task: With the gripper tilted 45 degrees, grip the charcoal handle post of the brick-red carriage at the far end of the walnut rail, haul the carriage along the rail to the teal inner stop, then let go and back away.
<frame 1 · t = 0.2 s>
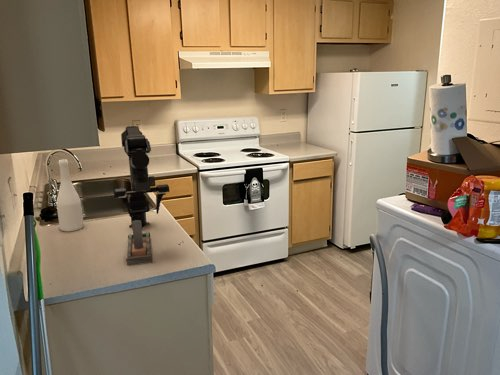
hand: (144, 215, 144), 15 cm above the countertop, tool tilted 15°, fingers open, 9 cm apart
wine bottle: (72, 228, 176), on the countertop
carriage: (137, 237, 146), point 7 cm above the countertop, slide at 9.0 cm
guide rail: (139, 250, 152), on the countertop
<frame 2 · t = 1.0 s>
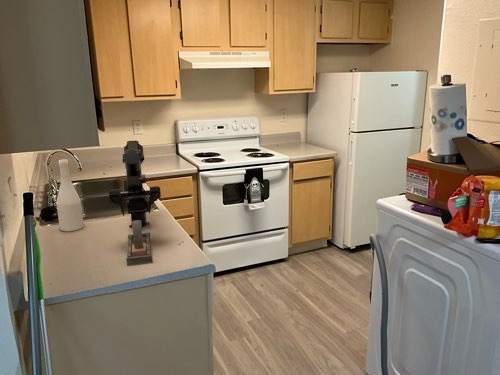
hand: (136, 214, 151), 13 cm above the countertop, tool tilted 45°, fingers open, 9 cm apart
nothing on the countertop moved.
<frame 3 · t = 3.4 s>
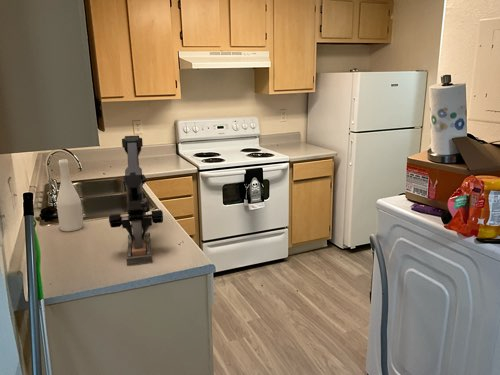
hand: (138, 240, 145), 7 cm above the countertop, tool tilted 45°, fingers closed on carriage, 3 cm apart
carriage: (137, 237, 146), point 7 cm above the countertop, slide at 9.0 cm, touching gripper
everything else where it was.
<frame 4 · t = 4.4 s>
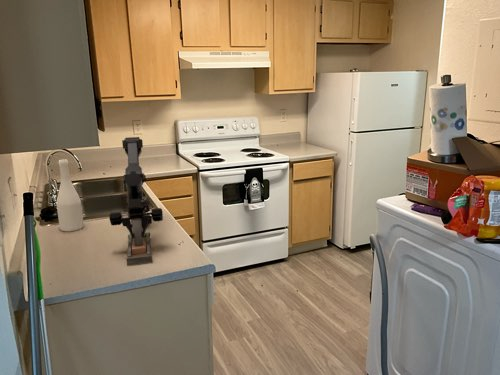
hand: (138, 237, 147), 7 cm above the countertop, tool tilted 45°, fingers closed on carriage, 3 cm apart
carriage: (137, 234, 148), point 7 cm above the countertop, slide at 6.7 cm, touching gripper
everything else where it was.
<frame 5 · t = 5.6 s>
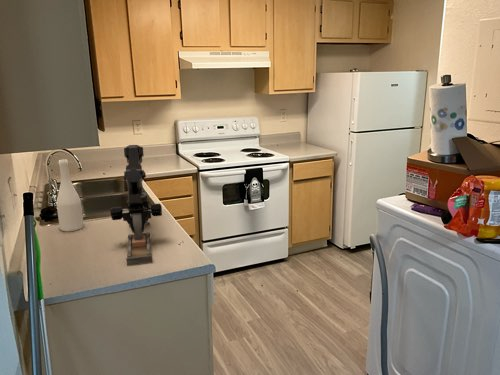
hand: (138, 231, 152), 7 cm above the countertop, tool tilted 45°, fingers closed on carriage, 3 cm apart
carriage: (138, 229, 154), point 7 cm above the countertop, slide at 0.5 cm, touching gripper
everything else where it was.
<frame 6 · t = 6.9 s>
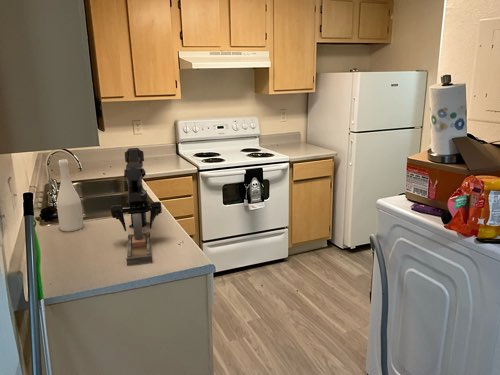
hand: (138, 229, 155), 7 cm above the countertop, tool tilted 45°, fingers open, 9 cm apart
carriage: (138, 229, 154), point 7 cm above the countertop, slide at 0.5 cm
everything else where it was.
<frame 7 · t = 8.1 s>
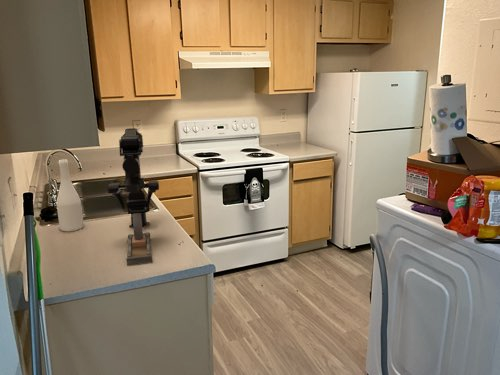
hand: (135, 207, 159), 13 cm above the countertop, tool pointing down, fingers open, 9 cm apart
nothing on the countertop moved.
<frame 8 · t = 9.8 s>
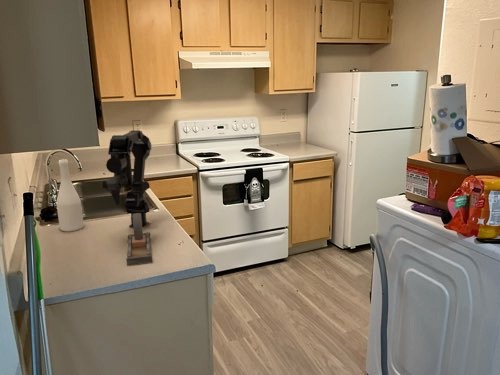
hand: (127, 205, 163), 13 cm above the countertop, tool pointing down, fingers open, 9 cm apart
nothing on the countertop moved.
at the end: carriage slide at 0.5 cm; the gripper is holding nothing; wine bottle moved 0.2 cm from its start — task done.
